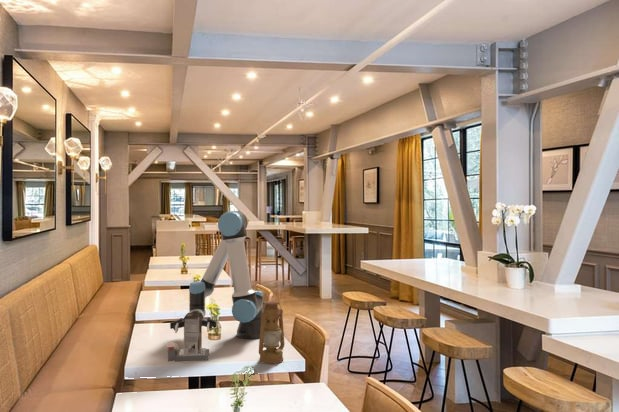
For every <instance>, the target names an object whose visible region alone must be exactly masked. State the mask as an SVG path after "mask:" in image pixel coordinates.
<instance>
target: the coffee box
mask: <svg viewBox="0 0 619 412" xmlns="http://www.w3.org/2000/svg"><path fill="white" fill-rule="evenodd" d="M183 320H184V327H183V349H184V354H198V353H199V352H200V350H201V348H203V347H202V344H203V342H202V341H203V339H202V338H203V337H202V336H203V335H202V328H203V326H202V313H189V312H188V313H187V314H185V315H184V317H183Z"/></svg>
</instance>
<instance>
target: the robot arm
mask: <svg viewBox="0 0 619 412" xmlns="http://www.w3.org/2000/svg"><path fill="white" fill-rule="evenodd" d="M247 227H248V219H247V216H246V215H245V214H244V212H241V211H237V210H233V211H232V210H231V211H226V212H224V213H222V214H221V216H220V217H219V219H218V220H217V229H218V231H219V233H221V237H222V238H221V240H220V241H219V243H218V246H217V247H216V249H215V252H214V253H213V255H212V257H211V260H210V262H209V263H208V266H207V268H206V270H205V272H204V274H203V276H202V278H201V280H200V281H192V282H190V283H189V288H188V289H189V290H188V291H189V292H188V293H189V295H188V296H189V305H188V306H189V309H188V310H189V312H188V313H202V327H205V328H206V332H207V333H209V332H210V329H213V328H217V321H215V320H214V319H211V318H210V317H205V316H206V310H205V309H206V298H207V297H210V296H211V295H213V293H214V291H215V286H216V284H217V281H218V280H219V278H220V276H221V274H222V272H223V269H224V268H225V266H226V263H227V261H228V262H229V267H230V275H231V280H232V287H233V292H232V295H231V301H232V306H231V314H232V316H233V318H234V319H235V320H236V321H238V322H239V324H238V327H237V329H236V337H237V336H238V338H240V339H247V340H249V339H250V340H251V339H260V328H261V315H262V313H263V308H264V304H263V302H264V293H263V291H261V290H254V289H253V288H252V283H251V276H250V271H249V266H248V257H247V251H246V247H245V246H246V245H245V239H246V238H247V234H246V230H247ZM205 318H206V319H205ZM169 325H170V326H169V327H170V329H171V330H174V334H178V331H179V329H181V328H184V318H182V317H181V318H179V319H177V320H174V321H172V322H170V323H169Z"/></svg>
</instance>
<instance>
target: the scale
mask: <svg viewBox="0 0 619 412" xmlns="http://www.w3.org/2000/svg"><path fill="white" fill-rule="evenodd" d="M165 350H166V351H167V362H174V363H177V362H178V363H179V362H201V361H202V362H203V361H204V362H207V361H209V356H210V348H206V351H205V355H197V356H179V352H180V350H181V349H179V345H178V344H177V342H173V341H170V342H168V343H167V344H166V346H165Z"/></svg>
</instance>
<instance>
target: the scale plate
mask: <svg viewBox="0 0 619 412" xmlns="http://www.w3.org/2000/svg"><path fill="white" fill-rule="evenodd" d="M206 349H207V348H206V347H202V348H201V350H200V352H199V353H198V354H184V348H181V349H179V350H180V352H179V356H197V355H205V351H206Z"/></svg>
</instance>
